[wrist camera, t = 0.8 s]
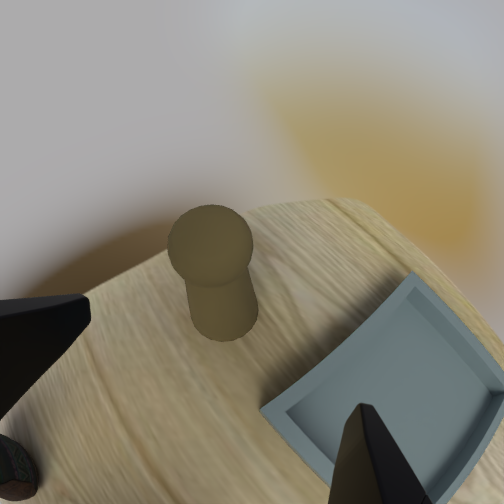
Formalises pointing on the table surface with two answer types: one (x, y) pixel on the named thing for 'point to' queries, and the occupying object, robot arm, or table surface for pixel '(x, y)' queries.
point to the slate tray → (401, 391)
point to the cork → (215, 270)
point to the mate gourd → (16, 471)
